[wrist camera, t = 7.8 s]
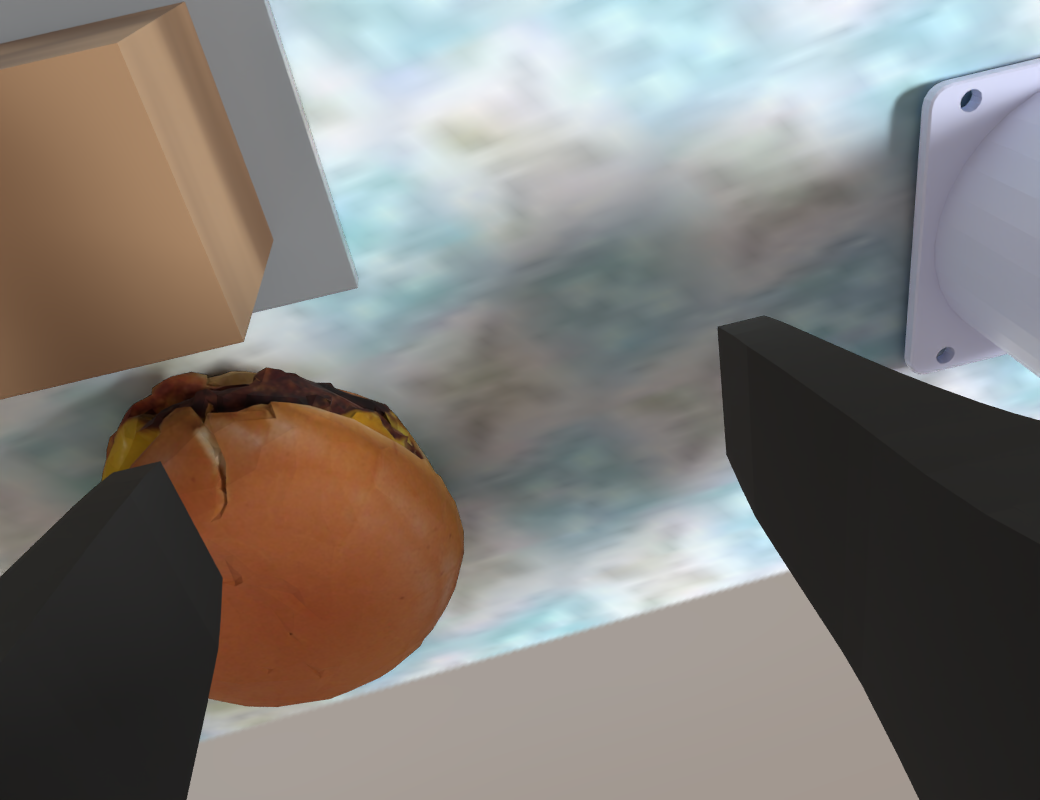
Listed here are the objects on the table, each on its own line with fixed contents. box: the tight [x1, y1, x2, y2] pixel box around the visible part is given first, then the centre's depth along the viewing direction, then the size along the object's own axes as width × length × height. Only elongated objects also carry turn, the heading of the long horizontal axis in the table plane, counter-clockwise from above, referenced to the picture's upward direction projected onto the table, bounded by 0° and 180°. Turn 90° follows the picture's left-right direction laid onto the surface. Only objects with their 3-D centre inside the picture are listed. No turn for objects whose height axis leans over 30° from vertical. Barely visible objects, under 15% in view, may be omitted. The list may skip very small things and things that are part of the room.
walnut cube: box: [0, 2, 274, 400], centre depth 15 cm, size 5×5×5 cm
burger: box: [102, 368, 464, 707], centre depth 22 cm, size 10×9×5 cm
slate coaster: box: [0, 0, 358, 313], centre depth 18 cm, size 8×8×1 cm
